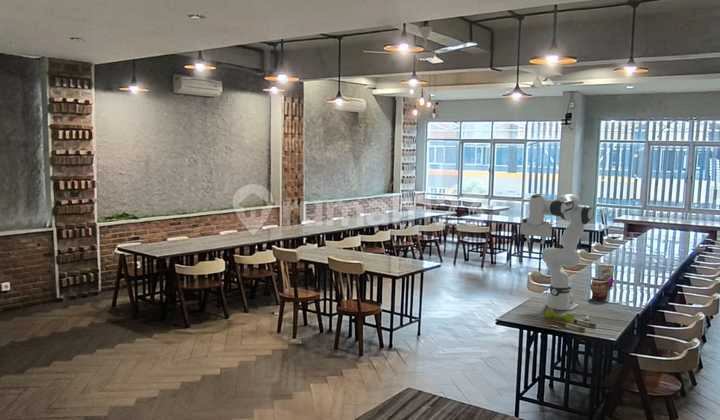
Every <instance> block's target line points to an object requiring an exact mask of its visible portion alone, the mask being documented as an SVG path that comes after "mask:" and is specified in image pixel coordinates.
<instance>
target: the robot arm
mask: <svg viewBox="0 0 720 420" xmlns="http://www.w3.org/2000/svg"><path fill="white" fill-rule="evenodd" d="M529 199H530V200H529V205H528V206H529V207H528V209H529V214H528V217H526V218H523V219H522V218H521V223H520V228H519V233H520V234H521V235H525V238H526V242H527V243H531V242H532V241H531V238H530V236H533V237H541V239H542V240H540V244H541V245H544V244H545V241H546V239H547V238H551V237H552V235H553V232H552V231H553V230H552V227H553V226H552V223H551V222H549V221H544V220H545V216H555V217H560V218H561V219H562V220H563V221H564V220H565V221H570V223H569V224H568V225H567V227H566V228H565V230H564V231H563V233H562V235H561V236H560V245H561V246H562V247H563V248H557V247H554V246H553V247H545V248H543V250H542V252H541V259H542V261H543V262H544V263H545V264H546V266H547V267H548V270H549V272H550V273H549V274H550V285H549V292H547V301H546V302H545V306H547V308H548V309H549V308H550V309H553V310H558V311H559V310H561V311H564V310H565V311H573V310H575V309H576V308H578V307H579V306H580V304H578V303H577V302H576V301H575V300H576V297H575V296H574V295H573V293H571V290H572V286H571V285H569V281H570V280H569V278H570V277H569V274H568V273H567V272H566V271H565V270H564V269H563V267H566V268H567V267H568V268H572V267H573V268H574V267H577V266H578V265H579V264H580V263H581V255H580V253H579V252H578V250H577V248H578V247H577V246H578V244H579V243H580V240H581V239H582V236H583V233H584V232H585V231H584V230H585V225H587V224H588V223H590V221H591V220H593V217H594V210H593V208H592V207H591V206H589V205H582V204H580V202H581V201H580V197H579V196H578V195H576V194H572V193H565V194H561V195H559V196H557V197H556V199H548V198H545V196H544V195H543V194H542V193H537V194H536V193H535V194H532V195H530V198H529Z"/></svg>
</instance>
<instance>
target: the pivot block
mask: <svg viewBox="0 0 720 420" xmlns="http://www.w3.org/2000/svg"><path fill="white" fill-rule="evenodd" d="M582 320H583V321H588V322H591V319H590V318H589V316H588V315H587V316H586V317H584V318H583V319H582Z"/></svg>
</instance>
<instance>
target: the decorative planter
mask: <svg viewBox="0 0 720 420" xmlns="http://www.w3.org/2000/svg"><path fill="white" fill-rule="evenodd" d="M590 291H591V293H592V295H591V299H592V300H593V301H601V302H604V301H607V299H608V294H609V291H610V286H609V284H608V281H607V280H604V279H597V278H592V280H591V283H590Z"/></svg>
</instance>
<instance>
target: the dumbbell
mask: <svg viewBox="0 0 720 420" xmlns="http://www.w3.org/2000/svg"><path fill="white" fill-rule="evenodd" d="M544 318H548V319H552V320H555V318H556V319H557V320H559V321H564V320H565V321H564V322H565V323H569V324H573V325H574V324H575V323H574V320H575V319H576V317H575V313H574V312H570V311H569V312H567V313H566V314H562V313H561V314H560V313H556V312H555V309H552V308H549V307H548V308H546V310H545V314H544Z"/></svg>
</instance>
